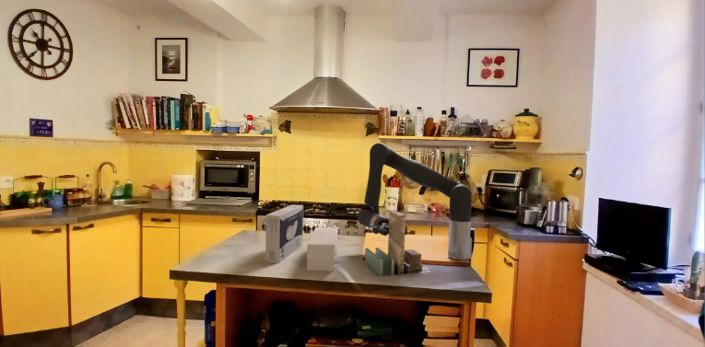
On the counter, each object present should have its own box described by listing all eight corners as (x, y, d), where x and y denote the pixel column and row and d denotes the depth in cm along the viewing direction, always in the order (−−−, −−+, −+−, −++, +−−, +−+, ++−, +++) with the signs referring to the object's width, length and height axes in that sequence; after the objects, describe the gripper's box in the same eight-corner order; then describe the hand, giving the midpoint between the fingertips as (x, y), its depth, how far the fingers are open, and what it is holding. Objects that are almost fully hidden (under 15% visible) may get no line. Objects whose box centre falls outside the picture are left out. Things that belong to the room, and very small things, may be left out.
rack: (412, 262, 160) (413, 245, 159) (432, 275, 144) (432, 256, 143) (363, 266, 153) (363, 248, 153) (377, 280, 137) (378, 260, 136)
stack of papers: (333, 271, 147) (334, 244, 146) (306, 270, 147) (307, 244, 146) (337, 249, 179) (337, 227, 178) (315, 249, 179) (315, 227, 178)
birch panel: (393, 263, 153) (394, 210, 151) (403, 271, 143) (405, 215, 142) (387, 264, 152) (389, 210, 150) (397, 271, 142) (399, 215, 141)
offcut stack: (412, 262, 155) (412, 248, 154) (422, 269, 146) (422, 254, 146) (400, 263, 153) (401, 249, 153) (410, 270, 145) (410, 255, 144)
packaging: (278, 263, 155) (279, 215, 154) (265, 261, 156) (265, 215, 155) (302, 245, 185) (303, 205, 183) (291, 244, 186) (291, 204, 185)
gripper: (366, 216, 160) (379, 224, 144) (396, 215, 164) (412, 222, 149) (365, 233, 160) (379, 243, 145) (396, 232, 165) (412, 241, 149)
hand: (396, 232), depth 147 cm, fingers open, 8 cm apart
